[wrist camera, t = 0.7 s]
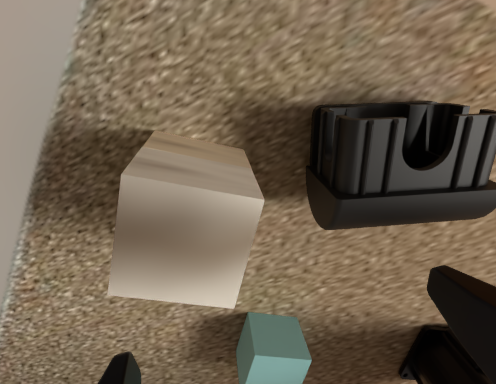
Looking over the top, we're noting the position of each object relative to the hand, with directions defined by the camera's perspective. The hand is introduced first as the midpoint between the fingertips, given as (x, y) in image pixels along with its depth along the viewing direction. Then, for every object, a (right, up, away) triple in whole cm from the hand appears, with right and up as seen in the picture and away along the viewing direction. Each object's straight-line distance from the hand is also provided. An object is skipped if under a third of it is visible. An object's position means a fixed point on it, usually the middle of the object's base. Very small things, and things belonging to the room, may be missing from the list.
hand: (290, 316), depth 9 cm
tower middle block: (-5, +3, +9) cm, 11 cm away
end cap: (+8, +6, +14) cm, 18 cm away
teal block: (0, -9, +20) cm, 22 cm away
